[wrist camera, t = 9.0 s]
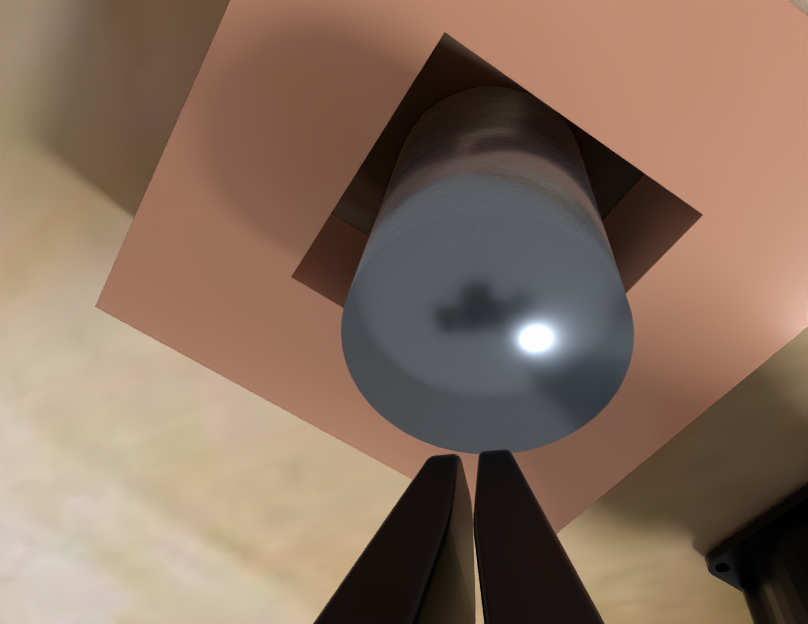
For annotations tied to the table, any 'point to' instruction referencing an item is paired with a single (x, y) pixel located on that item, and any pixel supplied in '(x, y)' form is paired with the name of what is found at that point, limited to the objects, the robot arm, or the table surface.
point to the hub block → (564, 92)
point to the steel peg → (488, 283)
